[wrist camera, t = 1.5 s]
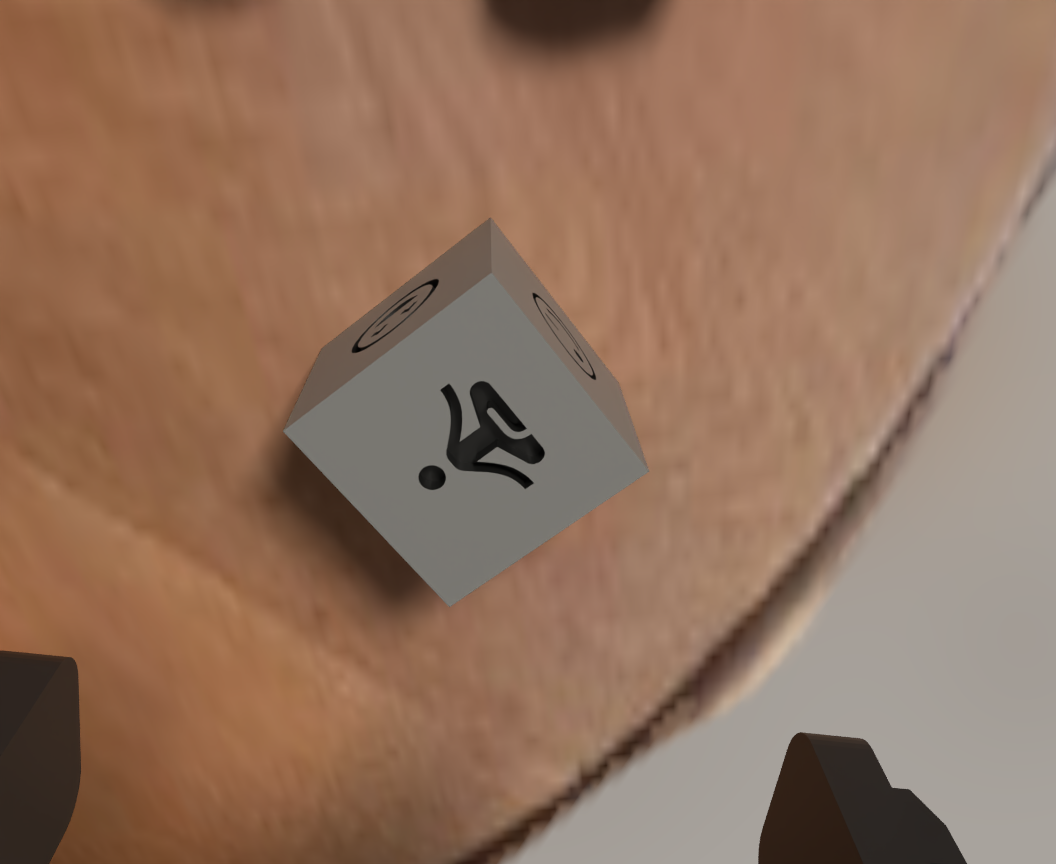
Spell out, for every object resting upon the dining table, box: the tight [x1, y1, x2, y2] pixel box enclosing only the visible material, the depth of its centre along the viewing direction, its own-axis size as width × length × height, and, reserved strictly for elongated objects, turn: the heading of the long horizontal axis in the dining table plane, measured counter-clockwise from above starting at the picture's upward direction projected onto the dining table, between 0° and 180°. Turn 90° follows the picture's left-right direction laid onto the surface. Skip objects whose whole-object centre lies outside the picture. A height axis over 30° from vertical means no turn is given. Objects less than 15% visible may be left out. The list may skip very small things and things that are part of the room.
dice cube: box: [283, 217, 649, 607], centre depth 22 cm, size 5×5×5 cm
